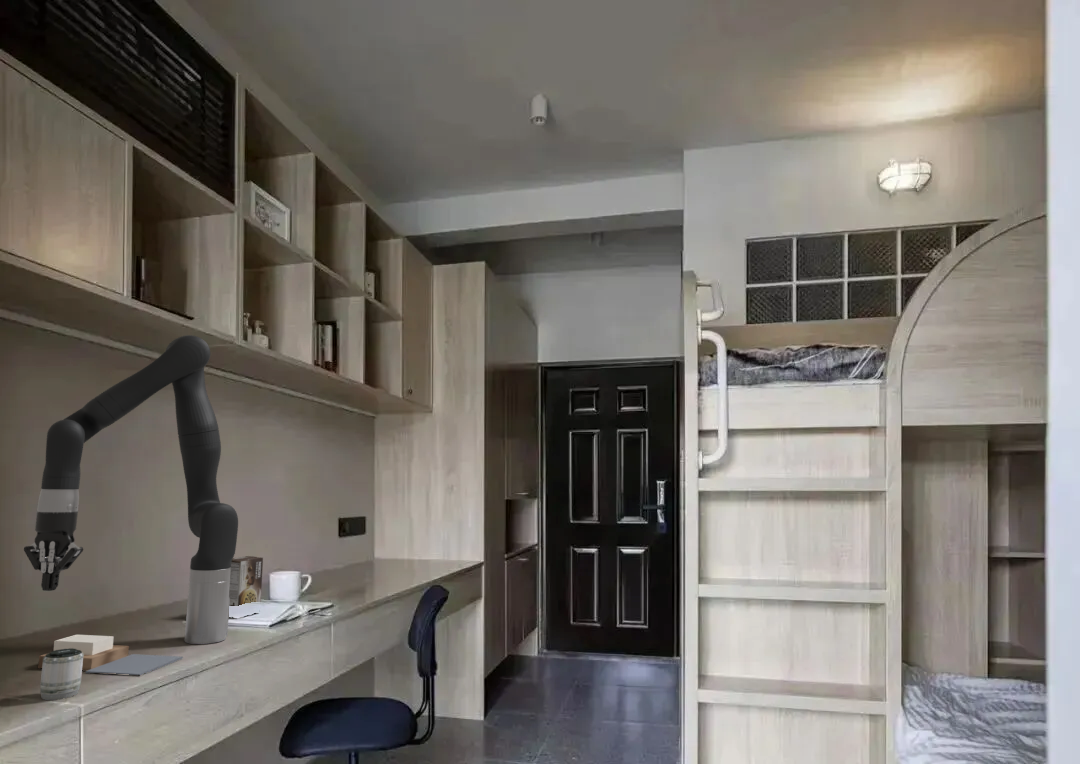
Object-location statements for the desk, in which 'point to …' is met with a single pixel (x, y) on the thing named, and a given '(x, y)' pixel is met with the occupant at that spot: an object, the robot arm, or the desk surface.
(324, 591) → the desk surface
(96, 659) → the plate
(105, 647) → the white box
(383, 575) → the desk surface
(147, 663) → the mat
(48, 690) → the camera lens
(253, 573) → the coffee box
